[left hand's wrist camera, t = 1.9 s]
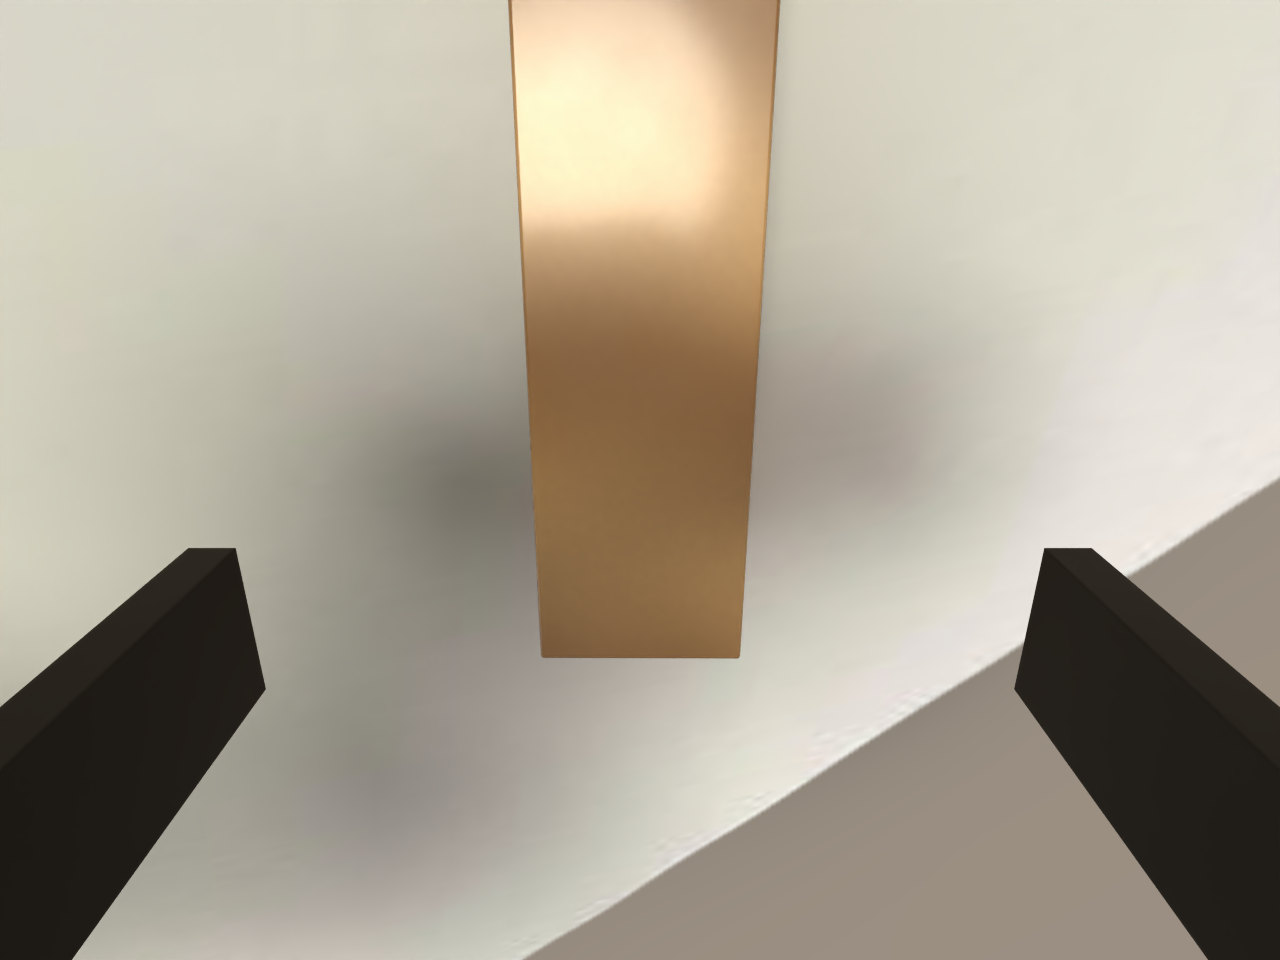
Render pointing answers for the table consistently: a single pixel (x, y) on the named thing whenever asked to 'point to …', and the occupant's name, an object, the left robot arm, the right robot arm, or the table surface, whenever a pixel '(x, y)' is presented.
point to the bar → (642, 311)
